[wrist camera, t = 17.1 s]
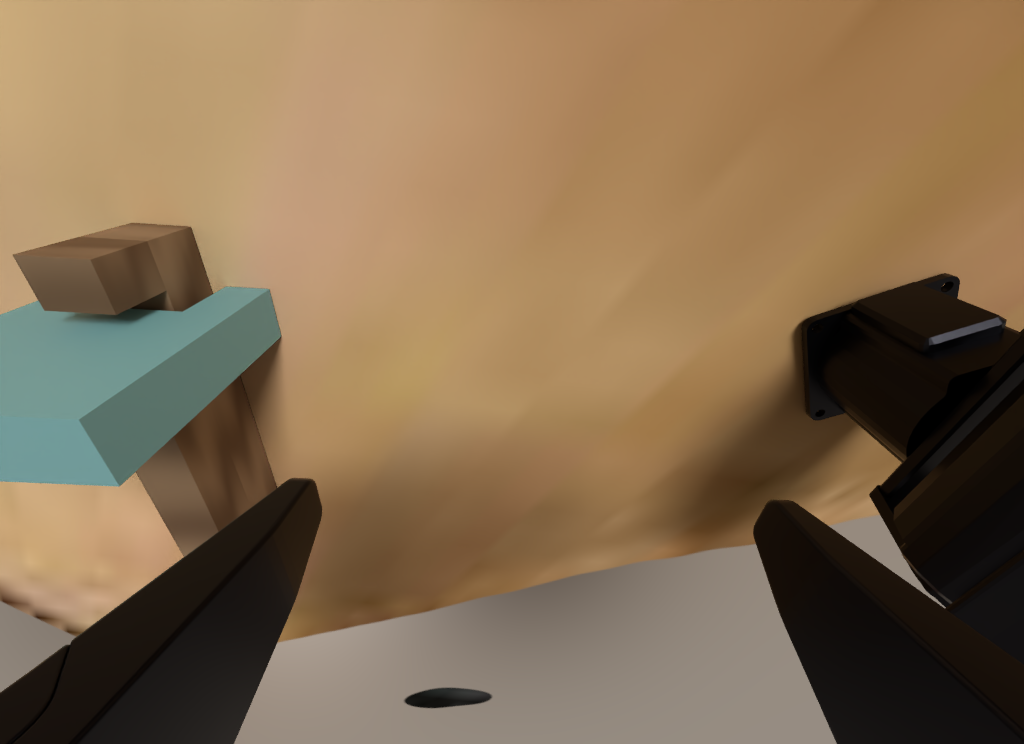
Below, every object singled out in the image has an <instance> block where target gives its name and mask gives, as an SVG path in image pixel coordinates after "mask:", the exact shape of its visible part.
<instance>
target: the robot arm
mask: <svg viewBox="0 0 1024 744" xmlns="http://www.w3.org/2000/svg"><path fill="white" fill-rule="evenodd" d="M944 284H945V285H944ZM959 284H960V280H959V278H958V277H956V276H953V275H950V274H946V273H944V274H940V275H937V276H934V277H931V278H928V279H924V280H921V281H918V282H913V283H910V284H907V285H904V286H900V287H897V288H894V289H891V290H888V291H885V292H882V293H879V294H876V295H873V296H870V297H867V298H864V299H861V300H858V301H857V302H855V303H852V304H849V305H846V306H843V307H840V308H837V309H834V310H831V311H828V312H824V313H821V314H818V315H815V316H812V317H810V318H808V319H807V320H806V321H805V322H804V323H803V325H802V344H803V363H804V382H805V401H806V413H807V415H808V416H809V417H811V418H812V419H813V420H822V419H825V418H829V417H833V416H836V415H840V414H843V413H846V414H847V415H848V416H849V417H850V418H851V419H853V420H854V421H855V422H856V423H857V424H858V425H859V426H861V427H862V428H863V429H864V430H865V431H866V432H867V433H869V434H870V435H871V436H872V437H873V438H874V439H875V440H877V441H878V442H879V443H880V444H881V445H882V446H883V447H885V448H886V449H887V450H888V451H889V452H890V453H891V454H893V455H894V456H895V457H896V458H897V459H898V460H899V461H901V462H902V464H901V465H900V466H899V467H898V468H897V469H896V470H895V471H894V472H893V473H892V474H891V475H890V476H889V477H888V478H887V480H886V481H885V482H884V483H883V484H882V485H877V486H876V488H875V489H874V490H873V491H872V492H871V493H870V494H869V495H870V497H871V499H872V501H873V503H874V504H875V506H876V508H877V510H878V512H879V513H880V515H881V517H882V518H883V520H884V522H885V524H886V526H887V527H888V529H889V531H890V533H891V534H892V536H893V538H894V540H895V542H896V543H897V545H898V547H899V549H900V550H901V553H902V555H903V557H904V559H905V560H906V561H907V563H908V564H909V566H910V568H911V570H912V571H913V573H914V574H915V576H916V577H917V579H918V580H919V581H920V582H921V584H922V585H923V587H924V588H925V590H926V591H927V592H928V593H929V594H931V595H932V596H934V597H935V598H936V599H937V600H938V601H939V602H940V603H941V604H942V605H944V606H945V607H946V608H943V607H942V606H940V605H939V604H937V603H936V602H935V601H933V600H932V599H930V598H929V597H928V596H926V595H925V594H923V593H922V592H921V591H919V590H918V589H916V588H915V587H914V586H912V585H911V584H909V583H908V582H907V581H905V580H904V579H902V578H901V577H899V576H898V575H897V574H895V573H894V572H892V571H891V570H889V569H888V568H887V567H885V566H884V565H883V564H881V563H880V562H878V561H877V560H876V559H874V558H872V557H871V556H870V555H868V554H867V553H866V552H864V551H863V550H861V549H860V548H858V547H857V546H856V545H854V544H853V543H852V542H850V541H849V540H847V539H846V538H845V537H843V536H842V535H840V534H839V533H837V532H836V531H835V530H833V529H832V528H830V527H829V526H828V525H826V524H825V523H823V522H822V521H821V520H819V519H818V518H816V517H815V516H814V515H812V514H811V513H809V512H808V511H806V510H805V509H804V508H802V507H801V506H799V505H798V504H796V503H795V502H793V501H789V500H770V501H768V502H767V503H766V505H765V507H764V509H763V510H762V512H761V514H760V516H759V517H758V519H757V521H756V523H755V525H754V529H753V534H754V539H755V542H756V545H757V548H758V551H759V554H760V557H761V560H762V563H763V566H764V569H765V572H766V575H767V578H768V581H769V584H770V587H771V590H772V593H773V596H774V599H775V602H776V604H777V607H778V610H779V613H780V615H781V618H782V620H783V623H784V625H785V627H786V630H787V632H788V634H789V637H790V639H791V641H792V643H793V646H794V648H795V650H796V652H797V655H798V657H799V659H800V661H801V663H802V666H803V668H804V670H805V672H806V675H807V677H808V679H809V682H810V684H811V686H812V688H813V691H814V693H815V695H816V698H817V700H818V702H819V704H820V706H821V709H822V711H823V713H824V716H825V718H826V720H827V722H828V725H829V727H830V729H831V731H832V734H833V736H834V738H835V740H836V742H837V744H1024V329H1023V330H1022V331H1021V332H1018V331H1016V330H1013V329H1011V328H1009V327H1006V326H1005V325H1006V319H1005V318H1003V317H1001V316H999V315H997V314H994V313H992V312H989V311H987V310H984V309H982V308H979V307H977V306H974V305H972V304H969V303H967V302H964V301H962V300H959V299H957V297H958V291H959ZM943 285H944V286H943ZM942 286H943V287H942ZM817 324H818V326H817V327H816V328H815V329H813V327H814V326H815V325H817ZM812 329H813V330H812ZM818 410H819V411H818ZM817 411H818V412H817ZM321 516H322V505H321V502H320V498H319V494H318V490H317V486H316V483H315V481H314V480H313V479H307V478H292V479H289V480H288V481H286V482H285V483H283V484H282V485H281V486H279V487H278V488H277V489H275V490H274V491H273V492H271V493H270V494H268V495H267V496H266V497H264V498H263V499H262V500H260V501H259V502H258V503H256V504H255V505H254V506H252V507H251V508H250V509H248V510H247V511H246V512H244V513H243V514H242V515H240V516H239V517H237V518H236V519H235V520H233V521H232V522H231V523H229V524H228V525H227V526H225V527H224V528H223V529H221V530H220V531H219V532H217V533H216V534H215V535H213V536H212V537H211V538H209V539H208V540H206V541H205V542H204V543H202V544H201V545H200V546H198V547H197V548H196V549H194V550H193V551H192V552H190V553H189V554H188V555H186V556H185V557H184V558H182V559H181V560H180V561H178V562H177V563H175V564H174V565H173V566H171V567H170V568H169V569H167V570H166V571H165V572H163V573H162V574H161V575H159V576H158V577H157V578H155V579H154V580H153V581H151V582H150V583H149V584H147V585H146V586H144V587H143V588H142V589H140V590H139V591H138V592H136V593H135V594H134V595H132V596H131V597H130V598H128V599H127V600H126V601H124V602H123V603H122V604H120V605H119V606H118V607H116V608H115V609H114V610H112V611H111V612H109V613H108V614H107V615H105V616H104V617H103V618H101V619H100V620H99V621H97V622H96V623H95V624H93V625H92V626H91V627H89V628H88V629H87V630H85V631H84V632H83V633H81V634H80V635H78V636H77V637H76V638H74V639H73V640H72V642H71V644H70V645H65V646H63V647H62V648H61V649H59V650H58V651H57V652H55V653H54V654H53V655H51V656H50V657H49V658H47V659H46V660H44V661H43V662H42V663H41V664H39V665H38V666H36V667H35V668H34V669H32V670H31V671H30V672H29V673H27V674H26V675H24V676H23V677H21V678H20V679H19V680H17V681H16V682H14V683H13V684H12V685H10V686H9V687H7V688H6V689H5V690H3V691H2V692H0V744H234V742H235V739H236V737H237V735H238V733H239V730H240V728H241V726H242V723H243V721H244V719H245V716H246V714H247V712H248V709H249V707H250V705H251V702H252V700H253V698H254V695H255V693H256V691H257V688H258V686H259V684H260V681H261V679H262V677H263V674H264V672H265V670H266V667H267V665H268V663H269V660H270V658H271V655H272V653H273V651H274V649H275V646H276V644H277V642H278V640H279V637H280V635H281V633H282V630H283V628H284V626H285V623H286V621H287V619H288V616H289V614H290V612H291V609H292V607H293V604H294V602H295V599H296V597H297V594H298V591H299V588H300V585H301V582H302V578H303V575H304V572H305V569H306V565H307V562H308V559H309V556H310V553H311V549H312V546H313V543H314V540H315V537H316V533H317V530H318V527H319V524H320V521H321Z"/></svg>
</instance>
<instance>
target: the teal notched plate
mask: <svg viewBox="0 0 1024 744" xmlns="http://www.w3.org/2000/svg"><path fill="white" fill-rule="evenodd" d="M280 337H281V333H280V329H279V325H278V322H277V318H276V314H275V310H274V306H273V302H272V298H271V294H270V290H269V289H259V288H241V287H225V288H223V289H221V290H219V291H218V292H216V293H214V294H212V295H211V296H209V297H207V298H205V299H204V300H202V301H200V302H198V303H197V304H195V305H193V306H192V307H190V308H188V309H186V310H185V311H183V312H179V311H162V310H144V309H128V310H126V311H124V312H121V313H119V314H117V315H108V314H91V313H74V312H57V311H44V309H43V308H42V306H41V304H40V302H39V301H36V302H33V303H31V304H28V305H25V306H23V307H20V308H17V309H15V310H12V311H9V312H7V313H4V314H1V315H0V481H6V482H29V483H52V484H75V485H99V486H120V485H122V484H123V483H124V482H125V481H126V480H127V479H128V478H129V477H130V476H131V475H132V474H133V473H135V472H136V471H137V470H138V469H139V468H140V467H141V466H142V465H143V464H144V463H145V462H146V461H147V460H149V459H150V458H151V457H152V456H153V455H154V454H155V453H156V452H157V451H158V450H159V449H160V448H161V447H163V446H164V445H165V444H166V443H167V442H168V441H169V440H170V439H171V438H172V437H173V436H174V435H176V434H177V433H178V432H179V431H180V430H181V429H182V428H183V427H184V426H185V425H186V424H187V423H188V422H190V421H191V420H192V419H193V418H194V417H195V416H196V415H197V414H198V413H199V412H200V411H201V410H203V409H204V408H205V407H206V406H207V405H208V404H209V403H210V402H211V401H212V400H213V399H214V398H215V397H217V396H218V395H219V394H220V393H221V392H222V391H223V390H224V389H225V388H226V387H227V386H228V385H229V384H231V383H232V382H233V381H234V380H235V379H236V378H237V377H238V376H239V375H240V374H241V373H242V372H244V371H245V370H246V369H247V368H248V367H249V366H250V365H251V364H252V363H253V362H254V361H255V360H256V359H258V358H259V357H260V356H261V355H262V354H263V353H264V352H265V351H266V350H267V349H268V348H269V347H271V346H272V345H273V344H274V343H275V342H276V341H277V340H278V339H279V338H280Z"/></svg>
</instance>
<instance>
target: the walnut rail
mask: <svg viewBox="0 0 1024 744" xmlns="http://www.w3.org/2000/svg"><path fill="white" fill-rule="evenodd" d="M13 256H14V258H15V260H16V262H17V263H18V265H19V267H20V269H21V271H22V272H23V274H24V276H25V278H26V279H27V281H28V283H29V285H30V286H31V288H32V290H33V292H34V293H35V295H36V297H37V299H38V301H39V302H40V304H41V306H42V308H43V309H44V311H57V312H74V313H91V314H108V315H117V314H119V313H121V312H124V311H126V310H128V309H144V310H162V311H179V312H183V311H185V310H186V309H188V308H190V307H192V306H193V305H195V304H197V303H198V302H200V301H202V300H204V299H205V298H207V297H209V296H211V295H212V294H213V293H212V290H211V287H210V284H209V281H208V278H207V275H206V272H205V269H204V266H203V263H202V260H201V257H200V254H199V251H198V248H197V245H196V242H195V239H194V236H193V233H192V230H191V227H185V226H170V225H155V224H140V223H130V224H126V225H122V226H119V227H115V228H111V229H107V230H104V231H100V232H96V233H92V234H89V235H85V236H81V237H77V238H74V239H70V240H66V241H62V242H59V243H55V244H51V245H47V246H44V247H40V248H36V249H32V250H29V251H25V252H21V253H17V254H13ZM136 473H137V475H138V477H139V479H140V480H141V482H142V484H143V486H144V487H145V489H146V491H147V493H148V494H149V496H150V498H151V500H152V501H153V503H154V505H155V507H156V509H157V510H158V512H159V514H160V516H161V517H162V519H163V521H164V523H165V524H166V526H167V528H168V530H169V531H170V533H171V535H172V537H173V539H174V540H175V542H176V544H177V546H178V547H179V549H180V551H181V553H182V554H183V556H184V557H185V556H186V555H188V554H189V553H190V552H192V551H193V550H194V549H196V548H197V547H198V546H200V545H201V544H202V543H204V542H205V541H206V540H208V539H209V538H211V537H212V536H213V535H215V534H216V533H217V532H219V531H220V530H221V529H223V528H224V527H225V526H227V525H228V524H229V523H231V522H232V521H233V520H235V519H236V518H237V517H239V516H240V515H242V514H243V513H244V512H246V511H247V510H248V509H250V508H251V507H252V506H254V505H255V504H256V503H258V502H259V501H260V500H262V499H263V498H264V497H266V496H267V495H268V494H270V493H271V492H273V491H274V490H275V489H277V487H276V484H275V481H274V478H273V475H272V472H271V469H270V466H269V463H268V460H267V457H266V454H265V451H264V447H263V444H262V441H261V438H260V435H259V432H258V429H257V426H256V423H255V420H254V417H253V414H252V411H251V408H250V405H249V402H248V399H247V396H246V393H245V390H244V387H243V384H242V381H241V378H240V375H239V376H238V377H237V378H236V379H235V380H234V381H233V382H232V383H231V384H229V385H228V386H227V387H226V388H225V389H224V390H223V391H222V392H221V393H220V394H219V395H218V396H217V397H215V398H214V399H213V400H212V401H211V402H210V403H209V404H208V405H207V406H206V407H205V408H204V409H203V410H201V411H200V412H199V413H198V414H197V415H196V416H195V417H194V418H193V419H192V420H191V421H190V422H188V423H187V424H186V425H185V426H184V427H183V428H182V429H181V430H180V431H179V432H178V433H177V434H176V435H174V436H173V437H172V438H171V439H170V440H169V441H168V442H167V443H166V444H165V445H164V446H163V447H161V448H160V449H159V450H158V451H157V452H156V453H155V454H154V455H153V456H152V457H151V458H150V459H149V460H147V461H146V462H145V463H144V464H143V465H142V466H141V467H140V468H139V469H138V470H137V471H136Z"/></svg>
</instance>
